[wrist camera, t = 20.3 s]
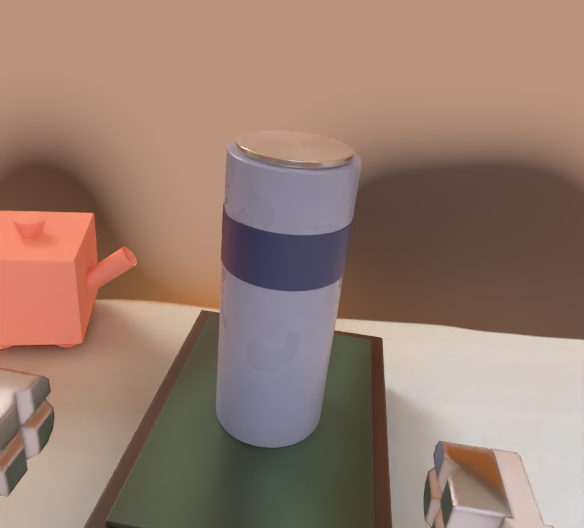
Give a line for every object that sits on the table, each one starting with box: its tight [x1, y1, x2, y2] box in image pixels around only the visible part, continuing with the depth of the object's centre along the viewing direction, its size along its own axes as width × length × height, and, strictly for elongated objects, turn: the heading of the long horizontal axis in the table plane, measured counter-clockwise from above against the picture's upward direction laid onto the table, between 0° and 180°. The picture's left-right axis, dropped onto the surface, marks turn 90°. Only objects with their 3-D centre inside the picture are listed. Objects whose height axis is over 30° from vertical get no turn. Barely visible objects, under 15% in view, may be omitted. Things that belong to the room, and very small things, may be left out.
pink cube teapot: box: [0, 211, 137, 349], centre depth 36 cm, size 8×12×8 cm, turn 100°
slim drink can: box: [216, 130, 361, 448], centre depth 24 cm, size 5×5×14 cm
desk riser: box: [84, 310, 392, 528], centre depth 27 cm, size 12×17×4 cm
